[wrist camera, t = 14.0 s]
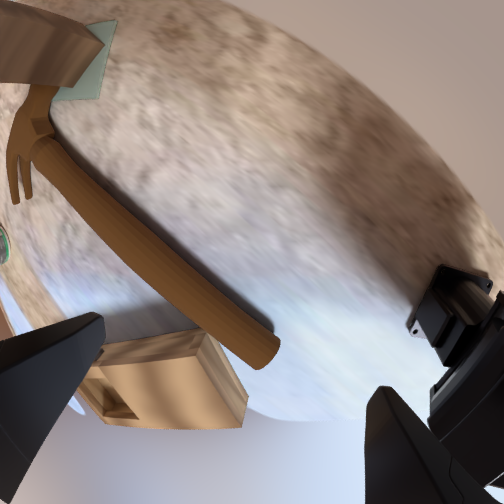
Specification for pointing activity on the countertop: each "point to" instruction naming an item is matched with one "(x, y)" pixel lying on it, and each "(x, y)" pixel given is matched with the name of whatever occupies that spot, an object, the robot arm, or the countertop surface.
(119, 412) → the slotted wooden slab
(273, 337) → the hammer
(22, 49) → the brown wooden block
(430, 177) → the countertop surface
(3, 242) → the pill bottle
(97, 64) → the rubber mat
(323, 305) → the countertop surface
